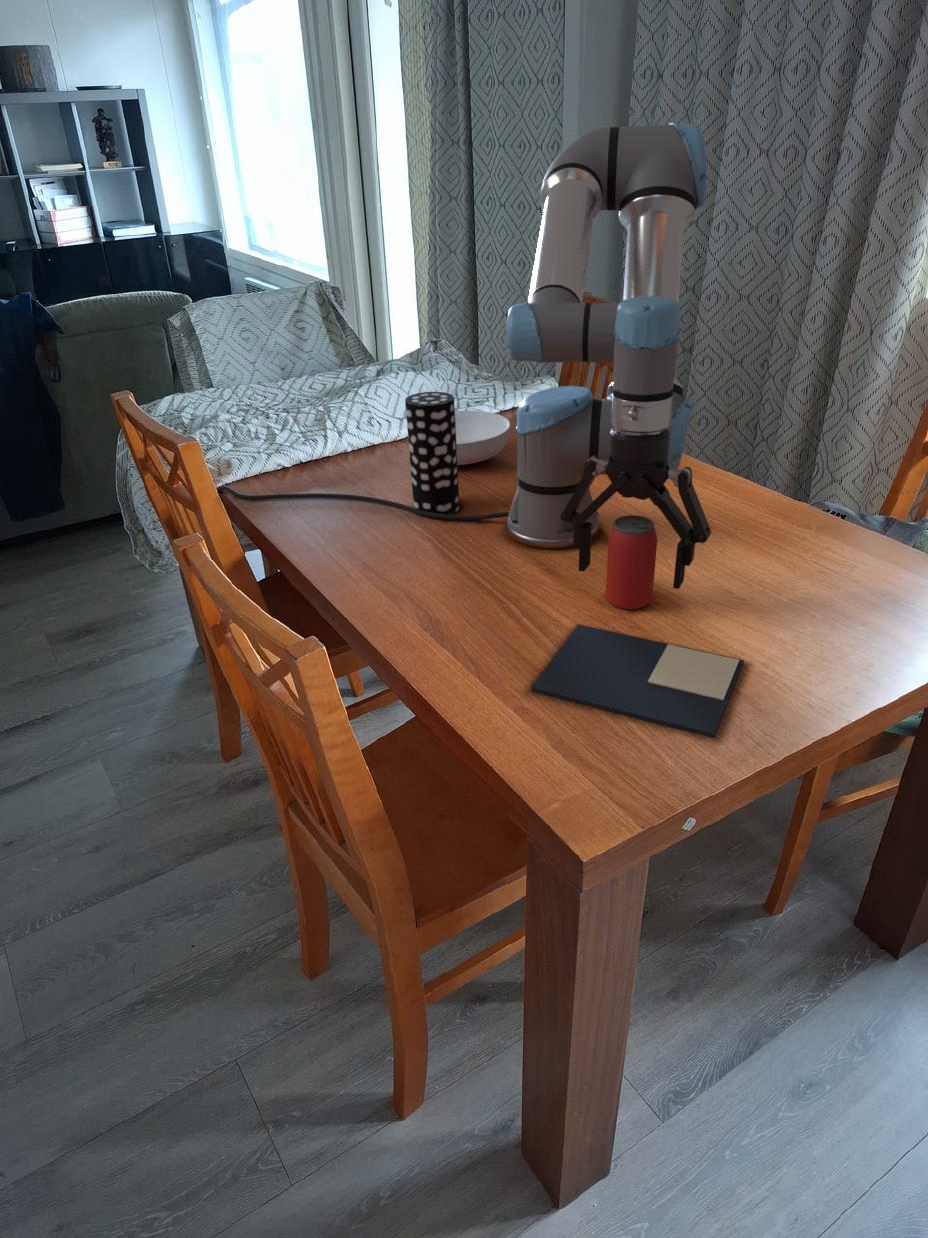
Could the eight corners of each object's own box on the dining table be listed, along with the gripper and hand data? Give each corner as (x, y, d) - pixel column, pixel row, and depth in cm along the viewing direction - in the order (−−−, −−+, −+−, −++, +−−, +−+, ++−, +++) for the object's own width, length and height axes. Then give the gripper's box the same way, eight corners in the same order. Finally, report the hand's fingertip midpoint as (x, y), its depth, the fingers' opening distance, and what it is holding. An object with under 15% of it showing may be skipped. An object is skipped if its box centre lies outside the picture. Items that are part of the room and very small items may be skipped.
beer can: (641, 615, 114) (647, 537, 108) (597, 604, 117) (601, 527, 111) (658, 595, 119) (665, 518, 113) (616, 585, 122) (620, 510, 116)
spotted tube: (406, 514, 148) (396, 403, 138) (425, 496, 155) (417, 390, 144) (448, 519, 145) (442, 407, 135) (466, 501, 152) (461, 393, 141)
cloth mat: (531, 691, 100) (531, 685, 100) (577, 627, 112) (577, 622, 112) (714, 738, 91) (715, 732, 91) (743, 663, 103) (744, 658, 103)
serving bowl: (408, 445, 180) (405, 414, 177) (503, 437, 182) (502, 406, 178) (413, 479, 162) (411, 446, 159) (518, 471, 164) (518, 437, 160)
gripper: (538, 426, 108) (537, 571, 118) (734, 447, 97) (714, 604, 108) (559, 410, 113) (557, 550, 124) (746, 429, 103) (726, 580, 114)
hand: (630, 576), depth 116 cm, fingers open, 13 cm apart
